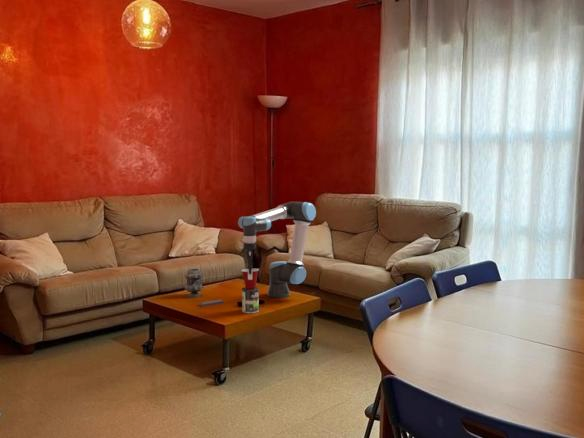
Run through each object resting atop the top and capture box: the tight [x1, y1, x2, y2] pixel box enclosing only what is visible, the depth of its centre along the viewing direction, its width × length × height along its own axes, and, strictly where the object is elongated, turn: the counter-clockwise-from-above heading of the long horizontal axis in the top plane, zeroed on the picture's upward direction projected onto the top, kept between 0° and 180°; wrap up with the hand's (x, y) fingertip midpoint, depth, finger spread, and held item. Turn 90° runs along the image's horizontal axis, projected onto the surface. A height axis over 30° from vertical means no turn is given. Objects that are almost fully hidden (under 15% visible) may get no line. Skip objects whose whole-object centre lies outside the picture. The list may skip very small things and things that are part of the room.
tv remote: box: [198, 299, 224, 307], centre depth 352 cm, size 15×4×2 cm, turn 123°
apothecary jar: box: [184, 268, 204, 298], centre depth 371 cm, size 12×12×18 cm
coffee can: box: [241, 286, 260, 314], centre depth 335 cm, size 10×10×14 cm
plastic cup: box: [240, 267, 260, 290], centre depth 333 cm, size 11×11×12 cm
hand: (250, 276), depth 333 cm, fingers open, 13 cm apart
